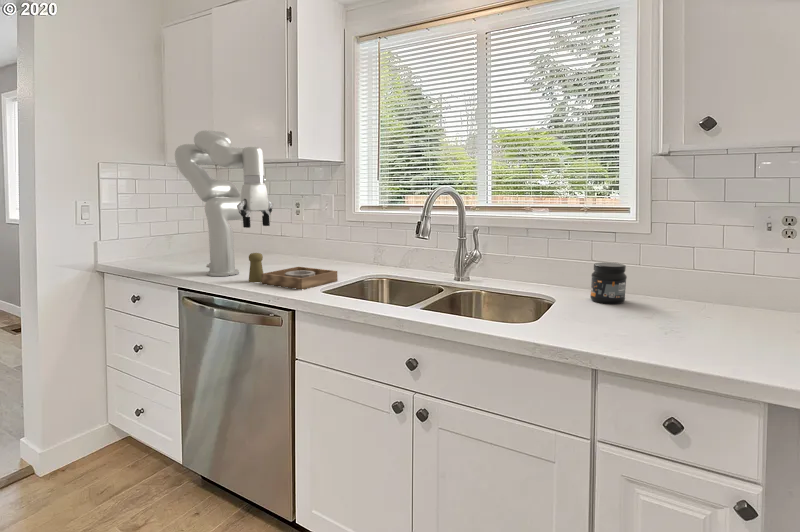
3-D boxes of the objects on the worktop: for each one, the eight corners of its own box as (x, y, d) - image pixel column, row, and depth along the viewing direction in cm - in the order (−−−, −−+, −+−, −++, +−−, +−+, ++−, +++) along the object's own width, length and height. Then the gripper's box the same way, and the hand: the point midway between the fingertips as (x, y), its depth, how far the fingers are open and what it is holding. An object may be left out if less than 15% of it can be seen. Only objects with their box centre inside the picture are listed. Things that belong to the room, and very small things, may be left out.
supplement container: (590, 296, 175) (592, 261, 173) (624, 299, 171) (627, 263, 169) (589, 303, 165) (591, 265, 164) (625, 306, 162) (628, 267, 160)
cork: (255, 279, 204) (253, 251, 202) (267, 280, 202) (266, 252, 200) (245, 282, 199) (243, 253, 197) (258, 283, 196) (257, 254, 195)
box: (261, 284, 195) (261, 273, 194) (298, 276, 211) (298, 266, 211) (302, 290, 184) (301, 278, 184) (337, 281, 201) (337, 271, 200)
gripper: (264, 181, 204) (266, 225, 206) (229, 181, 189) (231, 228, 192) (278, 180, 200) (280, 225, 202) (243, 180, 185) (246, 228, 188)
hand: (256, 226), depth 197 cm, fingers open, 9 cm apart
